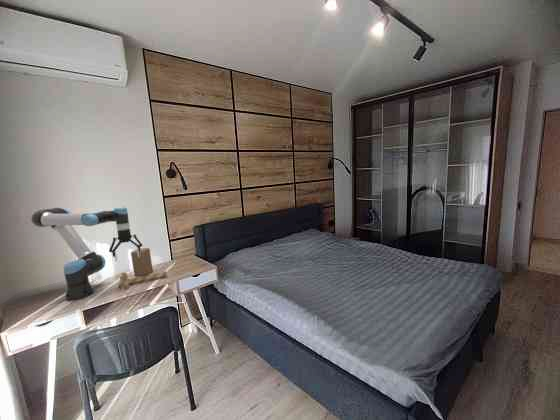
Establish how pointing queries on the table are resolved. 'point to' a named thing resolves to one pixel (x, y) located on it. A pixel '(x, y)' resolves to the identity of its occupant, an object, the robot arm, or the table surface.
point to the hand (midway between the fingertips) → (127, 258)
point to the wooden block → (142, 262)
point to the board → (146, 278)
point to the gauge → (124, 281)
